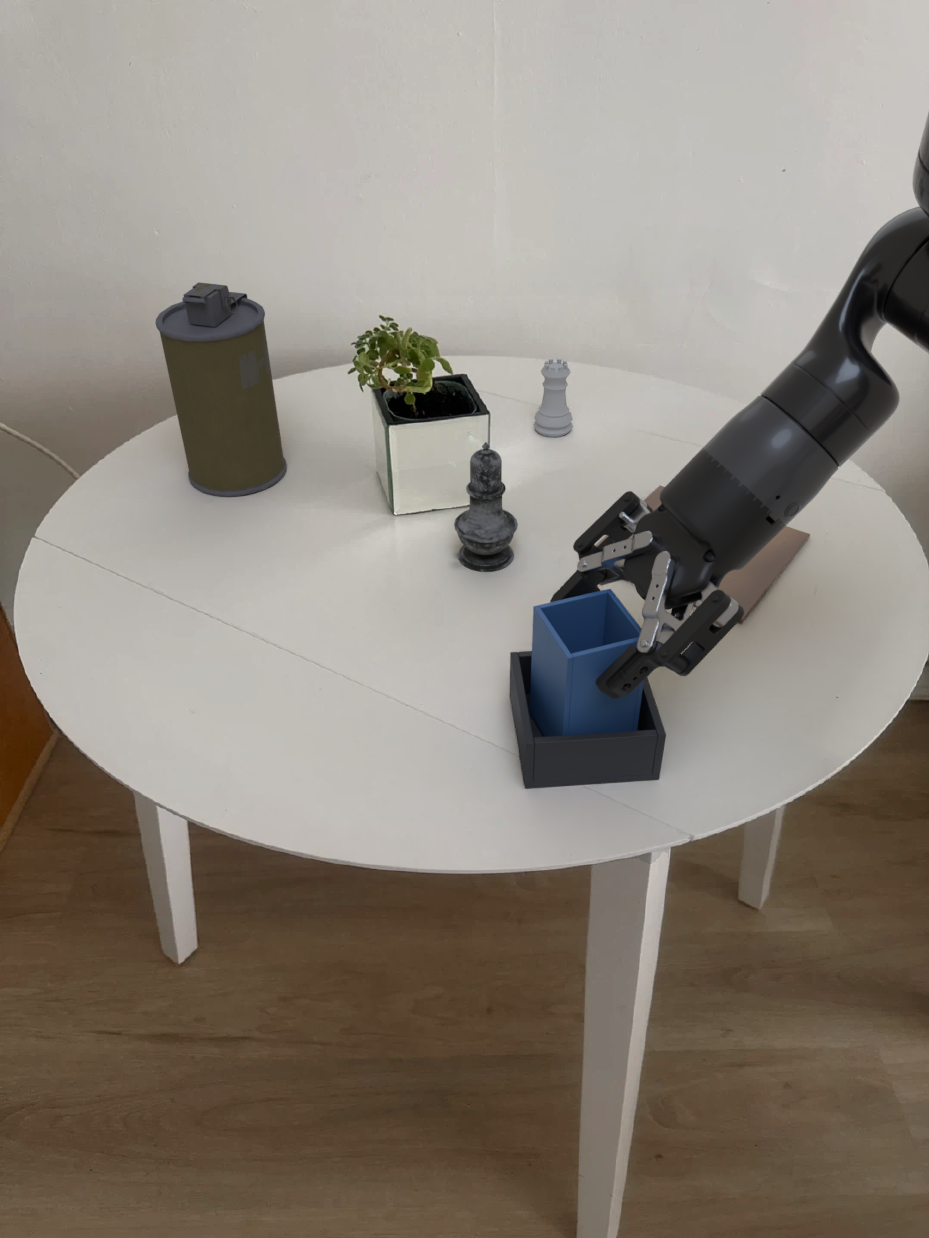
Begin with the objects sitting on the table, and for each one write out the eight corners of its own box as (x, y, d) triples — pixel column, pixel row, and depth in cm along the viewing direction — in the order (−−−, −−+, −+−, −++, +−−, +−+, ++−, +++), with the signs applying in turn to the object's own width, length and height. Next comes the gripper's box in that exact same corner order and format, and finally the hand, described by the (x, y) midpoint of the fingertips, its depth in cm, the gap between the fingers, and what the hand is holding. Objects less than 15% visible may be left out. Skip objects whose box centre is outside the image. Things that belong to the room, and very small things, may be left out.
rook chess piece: (579, 425, 114) (583, 360, 109) (561, 442, 111) (564, 375, 106) (545, 416, 116) (547, 351, 111) (526, 432, 113) (528, 366, 108)
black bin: (631, 688, 80) (636, 644, 77) (659, 779, 72) (666, 734, 69) (509, 695, 79) (510, 651, 76) (524, 788, 71) (526, 743, 69)
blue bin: (600, 695, 78) (610, 588, 72) (635, 747, 74) (649, 638, 67) (529, 713, 77) (533, 606, 70) (560, 767, 72) (567, 658, 66)
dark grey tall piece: (446, 567, 93) (443, 454, 85) (465, 534, 97) (463, 423, 90) (507, 578, 91) (509, 463, 84) (523, 543, 96) (526, 431, 88)
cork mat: (809, 538, 96) (810, 533, 95) (741, 624, 86) (742, 619, 85) (659, 489, 103) (659, 485, 103) (580, 563, 93) (580, 558, 93)
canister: (259, 503, 102) (227, 314, 90) (170, 488, 105) (127, 302, 92) (304, 453, 110) (281, 273, 98) (220, 440, 113) (187, 263, 100)
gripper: (664, 406, 69) (507, 574, 73) (780, 511, 58) (589, 700, 63) (721, 460, 73) (570, 615, 78) (838, 566, 63) (655, 738, 67)
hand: (578, 652), depth 70 cm, fingers open, 8 cm apart
